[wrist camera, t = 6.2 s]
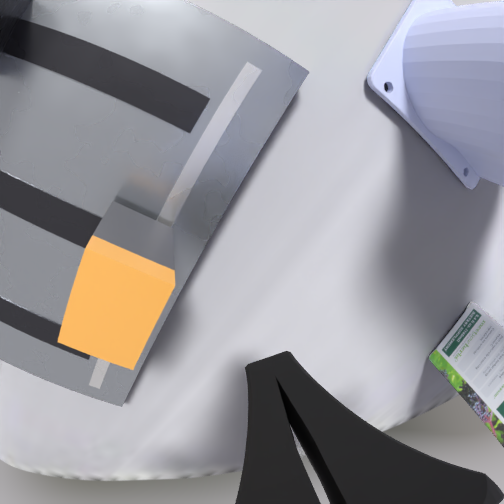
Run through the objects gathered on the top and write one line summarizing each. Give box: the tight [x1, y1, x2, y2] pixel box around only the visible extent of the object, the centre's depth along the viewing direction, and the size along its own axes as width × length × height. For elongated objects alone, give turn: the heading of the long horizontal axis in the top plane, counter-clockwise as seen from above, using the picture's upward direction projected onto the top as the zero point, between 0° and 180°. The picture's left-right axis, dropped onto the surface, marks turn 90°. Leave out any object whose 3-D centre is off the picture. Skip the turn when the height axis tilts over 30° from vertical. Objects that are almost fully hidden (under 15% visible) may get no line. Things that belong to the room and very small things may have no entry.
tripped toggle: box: [58, 201, 175, 370], centre depth 10 cm, size 2×3×4 cm
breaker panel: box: [0, 0, 309, 407], centre depth 9 cm, size 14×18×5 cm
